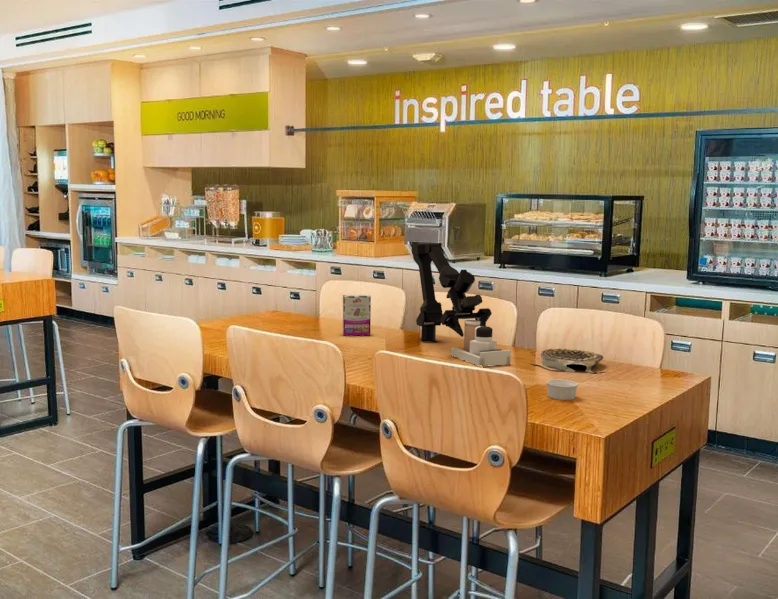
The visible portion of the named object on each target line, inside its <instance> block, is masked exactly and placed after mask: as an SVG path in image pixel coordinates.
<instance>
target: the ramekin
mask: <svg viewBox="0 0 778 599" xmlns="http://www.w3.org/2000/svg"><path fill="white" fill-rule="evenodd" d="M578 386H579V384H578V383H577V381H573V380H569V379H568V380H567V379H558V378H555V379H549V380H546V388H547V389H546V391H547V393H546V394H547V396H548V398H551V399H553V400H558V401H559V400H560V401H570V400H574V399H576V395H577V390H578V389H577V388H578Z"/></svg>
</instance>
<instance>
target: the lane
mask: <svg viewBox="0 0 778 599" xmlns="http://www.w3.org/2000/svg"><path fill="white" fill-rule="evenodd" d="M450 351H451V353H450V354H451V355H453V356H455V357H458V358H461V359H463V360H465V361H464V362H466V361H467V362H466V363H468V362H471V363H473V364H476V365H482V366H483V367H482V368H485V367H484V366H488V365H502V366H510V365H511V357H512V356H511V355H512V350H510V349H507V350H502V348H496V349H492V350H480V356H477V355H474V354H472V353H469V352H466V351H464V349H461V348H457V347H451V350H450ZM451 355H450V356H451ZM453 356H452V357H453ZM455 357H454V358H455ZM458 358H457V359H458ZM463 360H462V361H463ZM471 363H470V364H471ZM473 364H472V365H473ZM506 364H507V365H506ZM509 364H510V365H509ZM476 365H475V366H476Z"/></svg>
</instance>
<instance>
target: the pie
mask: <svg viewBox="0 0 778 599" xmlns="http://www.w3.org/2000/svg"><path fill="white" fill-rule="evenodd" d="M540 357H541V359H542V362H541V363H542V364H540V365H539V364H538V366H540V367H541V365H542V368H544V369H546V370H547V369H548V368H551V369H548V370H549V371H551V372H566V373H576V370H575V369H573V368H570V367H569V366H567V365H582V366H585V367H586V369H585V371H584V372H585V373H587V374H598V372H597V371H593V370H592V369H593V368H594V366H595V365H597V364H598V363H600V362H601V361H602V360H604V355H603V354H599V353H594V352H591V351H587V350H582V349H569V348H568V349H567V348H549V349H544V350H542V351H541V353H540ZM533 365H534V366H537V364H535V363H534V364H533ZM544 366H545V367H544ZM592 367H593V368H592ZM590 369H591V370H590Z"/></svg>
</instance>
